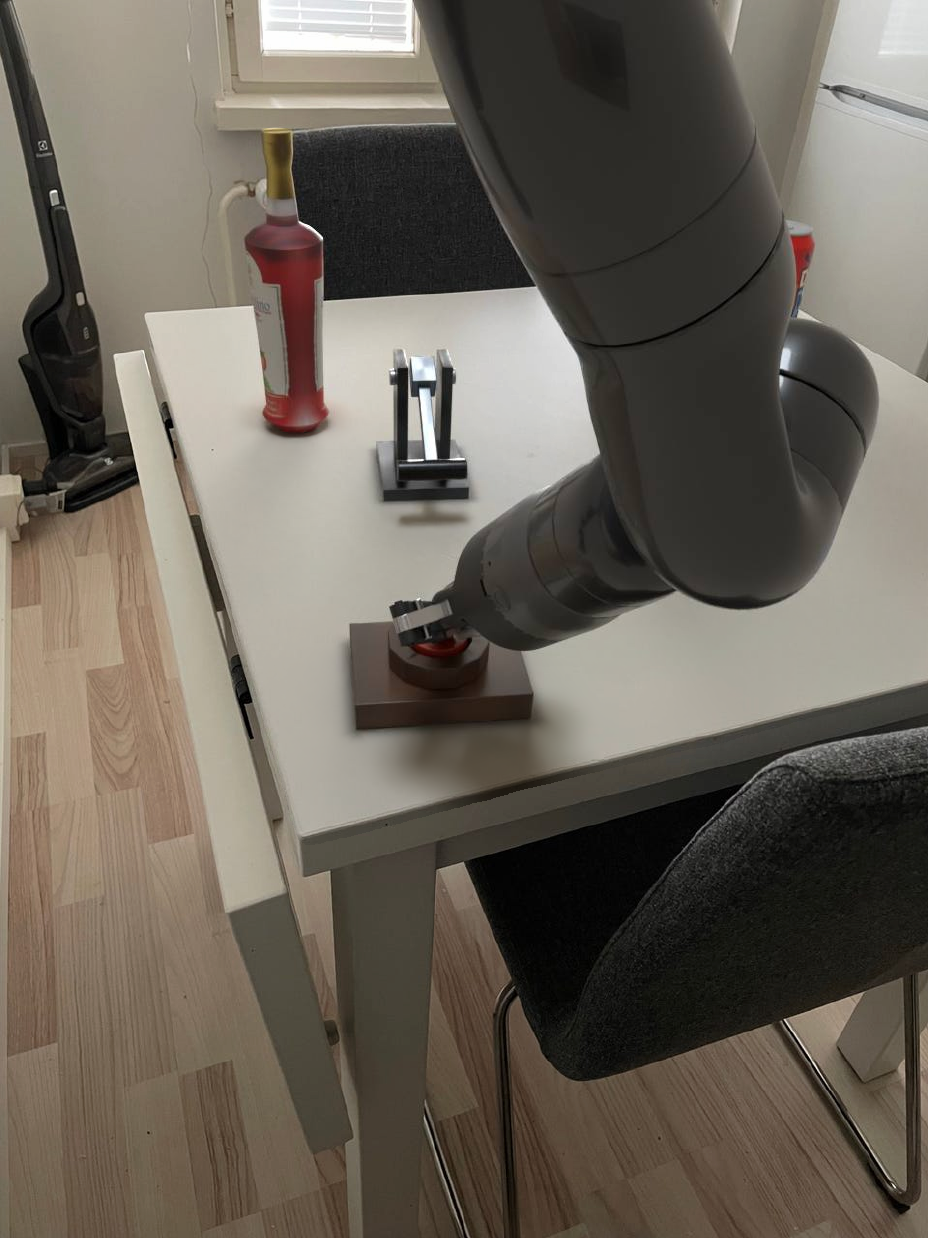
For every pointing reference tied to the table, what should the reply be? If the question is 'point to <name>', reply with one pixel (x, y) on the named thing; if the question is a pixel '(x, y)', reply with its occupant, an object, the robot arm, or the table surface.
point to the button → (441, 648)
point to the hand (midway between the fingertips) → (439, 625)
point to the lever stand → (414, 449)
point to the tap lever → (427, 430)
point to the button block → (433, 681)
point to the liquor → (287, 297)
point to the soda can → (801, 257)
